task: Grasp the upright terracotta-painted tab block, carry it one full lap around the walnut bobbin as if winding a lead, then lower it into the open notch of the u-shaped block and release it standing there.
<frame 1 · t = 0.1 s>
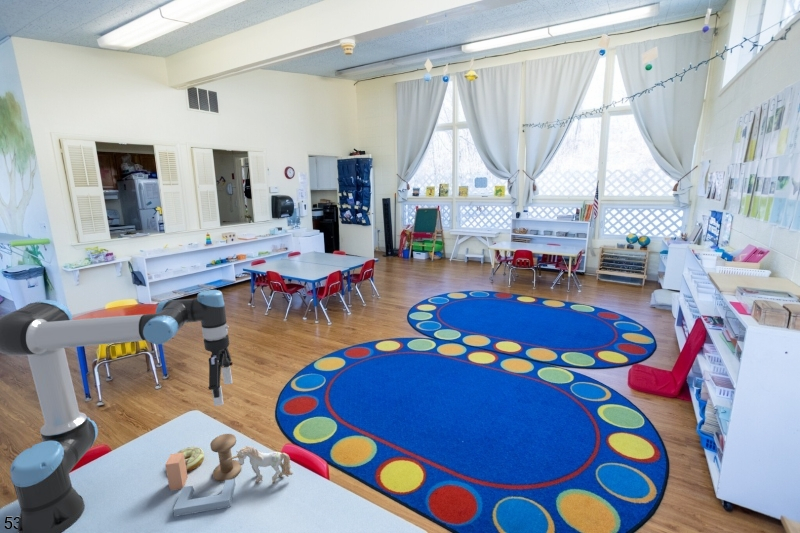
hand: (223, 393, 135), 28 cm above the table, fingers open, 13 cm apart
tab: (179, 483, 132), on the table
u-shaped block: (206, 500, 126), on the table
decorated donut: (188, 464, 142), on the table
unicorn figurine: (262, 485, 131), on the table
bobbin: (227, 472, 137), on the table
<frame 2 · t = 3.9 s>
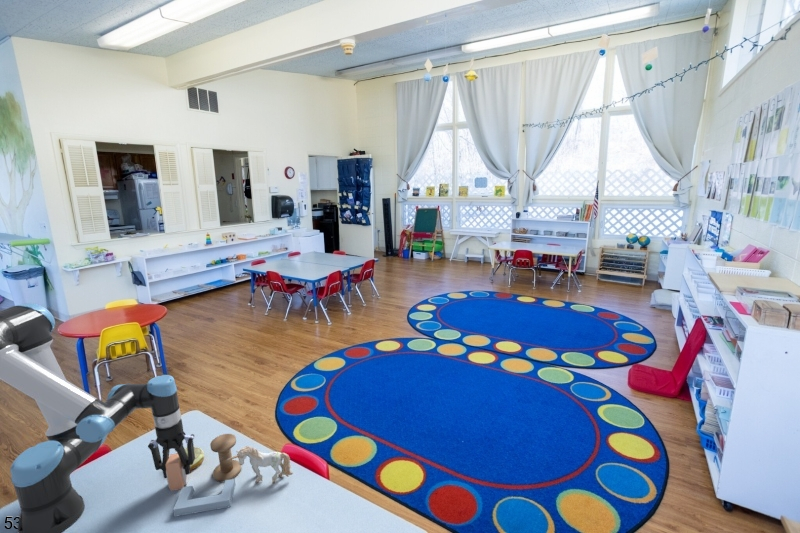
hand: (179, 483, 132), 0 cm above the table, fingers closed on tab, 4 cm apart
tab: (179, 483, 132), on the table, touching gripper
everything else where it was.
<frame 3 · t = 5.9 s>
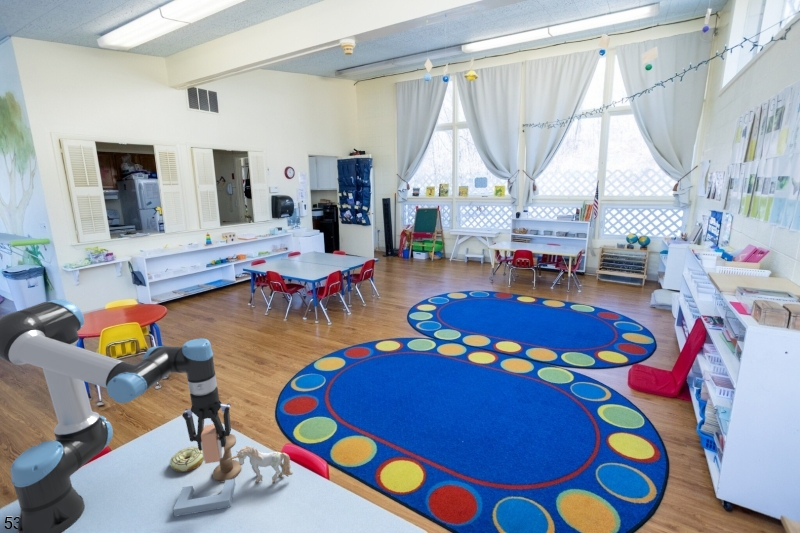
hand: (214, 456, 124), 15 cm above the table, fingers closed on tab, 4 cm apart
tab: (214, 457, 124), point 15 cm above the table, touching gripper
everything else where it was.
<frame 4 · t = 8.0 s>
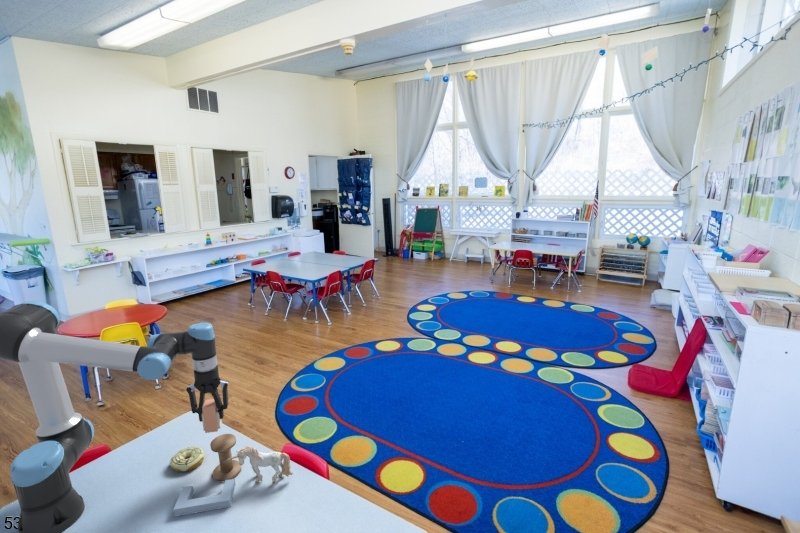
hand: (212, 427, 140), 14 cm above the table, fingers closed on tab, 4 cm apart
tab: (213, 427, 140), point 14 cm above the table, touching gripper
everything else where it was.
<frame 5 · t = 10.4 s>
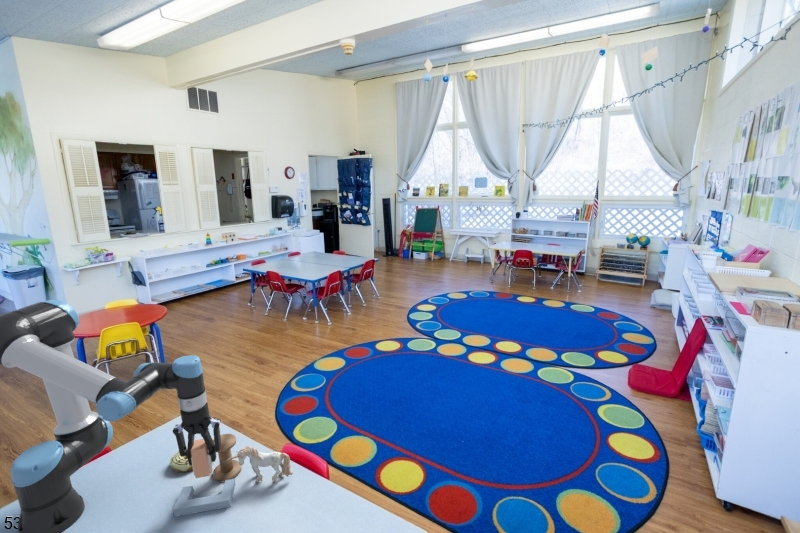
hand: (204, 470, 125), 10 cm above the table, fingers closed on tab, 4 cm apart
tab: (204, 471, 125), point 9 cm above the table, touching gripper
everything else where it was.
when the fingers open (2 cm above the table, at t = 12.3 s): tab drops 2 cm, on the table.
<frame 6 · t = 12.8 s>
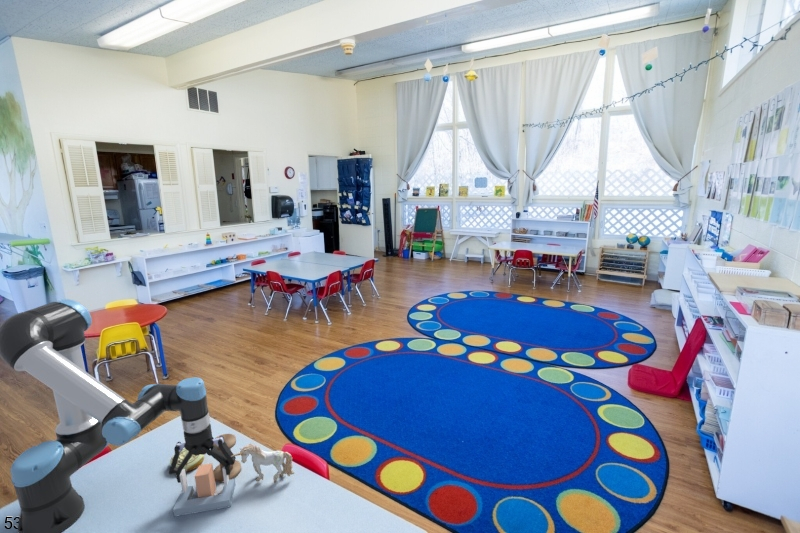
hand: (206, 486, 126), 4 cm above the table, fingers open, 12 cm apart
tab: (207, 495, 127), on the table
unicorn figurine: (263, 484, 131), on the table, touching hand
everything else where it was.
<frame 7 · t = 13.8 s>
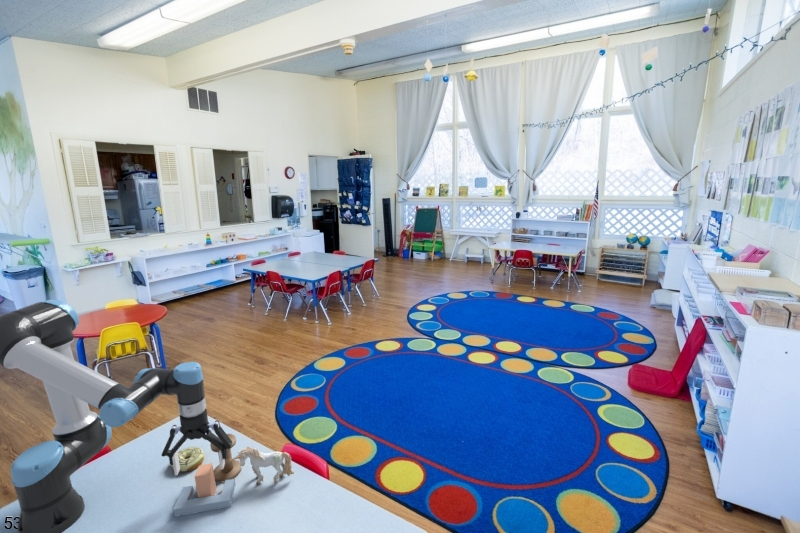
hand: (200, 469, 127), 9 cm above the table, fingers open, 13 cm apart
unicorn figurine: (264, 486, 131), on the table
everything else where it was.
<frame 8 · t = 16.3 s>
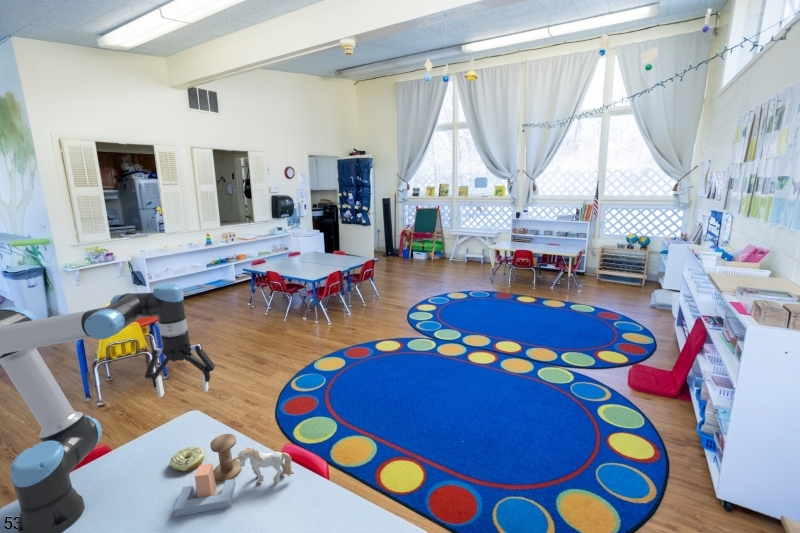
hand: (184, 392, 129), 32 cm above the table, fingers open, 13 cm apart
nothing on the table moved.
at the end: tab 0.3 cm from the target spot on the u-shaped block, point 0.0 cm above the u-shaped block's base; tab tilted 0°; the gripper is holding nothing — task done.
